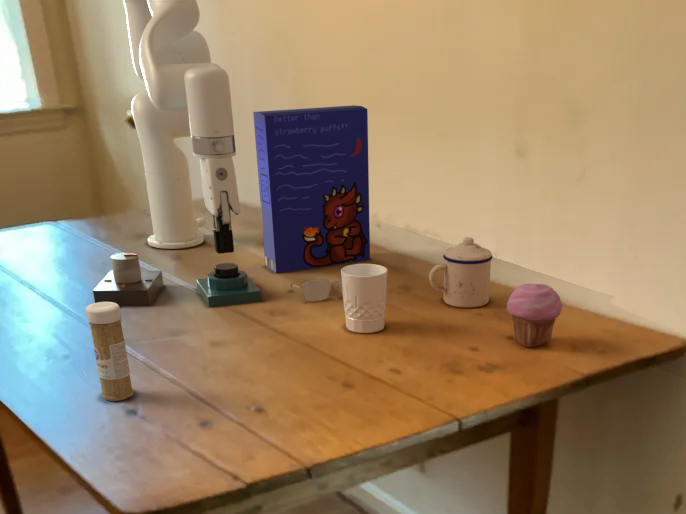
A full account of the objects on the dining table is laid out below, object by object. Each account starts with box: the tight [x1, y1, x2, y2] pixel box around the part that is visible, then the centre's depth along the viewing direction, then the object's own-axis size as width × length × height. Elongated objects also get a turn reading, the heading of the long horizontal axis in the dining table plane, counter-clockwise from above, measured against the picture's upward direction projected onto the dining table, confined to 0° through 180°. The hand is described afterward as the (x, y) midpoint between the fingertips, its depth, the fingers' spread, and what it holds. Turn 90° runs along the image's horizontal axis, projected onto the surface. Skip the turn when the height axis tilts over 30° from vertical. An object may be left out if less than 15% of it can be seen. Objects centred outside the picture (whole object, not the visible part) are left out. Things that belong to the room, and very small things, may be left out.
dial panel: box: [92, 270, 165, 307], centre depth 172 cm, size 13×10×3 cm
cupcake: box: [506, 282, 563, 348], centre depth 149 cm, size 9×9×10 cm
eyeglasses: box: [290, 277, 343, 303], centre depth 174 cm, size 14×8×4 cm, turn 112°
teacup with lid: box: [428, 236, 493, 309], centre depth 167 cm, size 12×9×12 cm
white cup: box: [340, 263, 388, 334], centre depth 155 cm, size 8×8×10 cm
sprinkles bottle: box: [85, 302, 134, 402], centre depth 129 cm, size 5×5×13 cm
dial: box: [110, 252, 142, 284], centre depth 170 cm, size 5×5×5 cm
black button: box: [213, 262, 239, 278], centre depth 171 cm, size 4×4×2 cm
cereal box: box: [252, 104, 371, 274], centre depth 185 cm, size 22×6×30 cm, turn 119°
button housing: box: [195, 269, 263, 308], centre depth 172 cm, size 12×10×4 cm
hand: (224, 251), depth 169 cm, fingers closed
